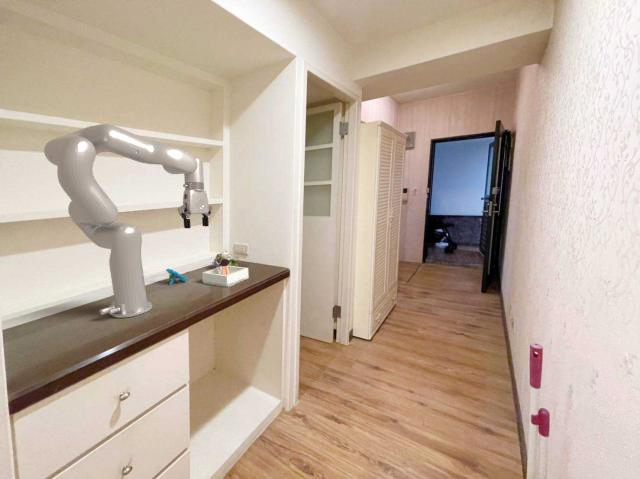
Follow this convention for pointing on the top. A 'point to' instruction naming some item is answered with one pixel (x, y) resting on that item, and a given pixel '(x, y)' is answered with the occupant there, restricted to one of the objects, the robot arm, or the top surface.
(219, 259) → the passion flower
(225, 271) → the grandmother figurine
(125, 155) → the robot arm
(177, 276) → the blue dinosaur toy
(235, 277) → the bin
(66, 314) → the top surface
